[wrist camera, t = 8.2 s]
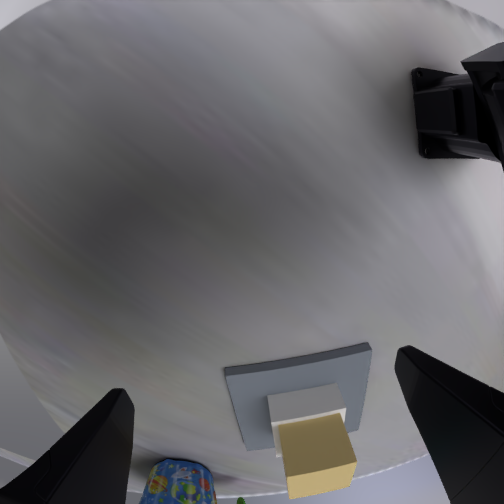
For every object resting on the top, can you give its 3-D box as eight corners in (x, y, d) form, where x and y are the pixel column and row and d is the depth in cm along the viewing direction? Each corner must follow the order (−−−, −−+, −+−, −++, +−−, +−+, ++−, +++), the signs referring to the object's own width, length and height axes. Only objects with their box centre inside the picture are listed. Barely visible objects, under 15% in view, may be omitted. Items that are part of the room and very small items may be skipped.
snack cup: (119, 469, 30) (107, 529, 21) (123, 435, 27) (105, 510, 17) (228, 492, 33) (231, 551, 24) (255, 463, 30) (262, 535, 20)
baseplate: (368, 342, 24) (372, 349, 23) (355, 423, 28) (358, 429, 27) (225, 367, 23) (225, 376, 23) (246, 443, 28) (247, 450, 27)
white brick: (336, 382, 24) (346, 407, 21) (333, 421, 26) (340, 444, 23) (267, 395, 24) (271, 422, 21) (273, 432, 26) (276, 457, 23)
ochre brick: (339, 412, 21) (357, 461, 16) (336, 443, 23) (349, 486, 18) (278, 424, 21) (286, 477, 16) (281, 453, 23) (289, 499, 18)
